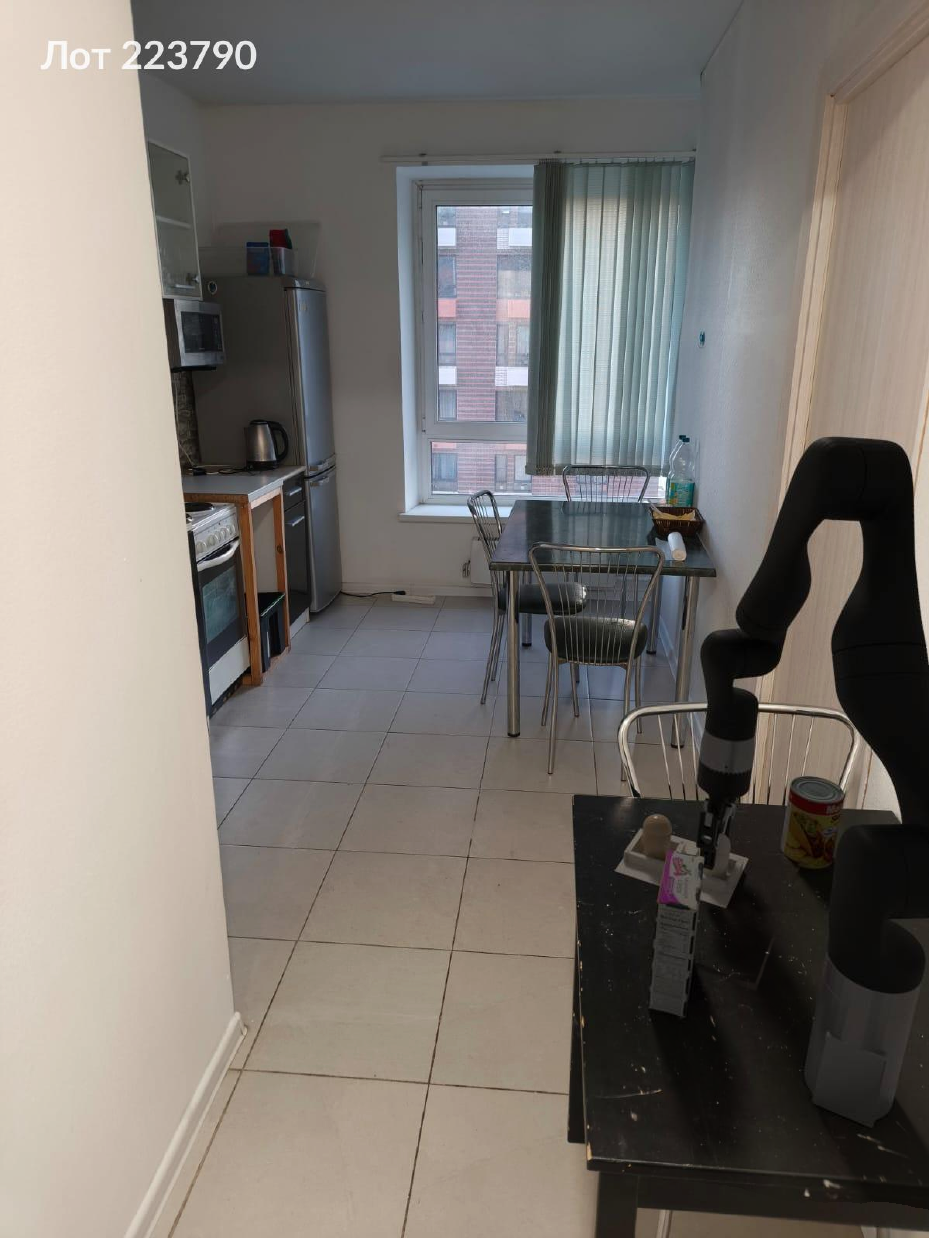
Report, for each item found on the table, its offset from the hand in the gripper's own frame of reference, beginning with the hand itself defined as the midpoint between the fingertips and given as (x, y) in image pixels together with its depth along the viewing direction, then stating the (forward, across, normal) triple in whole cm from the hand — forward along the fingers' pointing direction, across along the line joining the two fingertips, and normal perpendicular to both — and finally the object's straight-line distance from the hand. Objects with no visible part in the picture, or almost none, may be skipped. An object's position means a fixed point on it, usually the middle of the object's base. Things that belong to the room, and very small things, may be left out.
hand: (714, 852), depth 131 cm
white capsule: (+4, 0, 0) cm, 4 cm away
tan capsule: (+4, 0, +9) cm, 10 cm away
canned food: (+5, +14, -12) cm, 19 cm away
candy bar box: (+5, -25, -2) cm, 25 cm away
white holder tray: (+4, 0, +4) cm, 6 cm away
